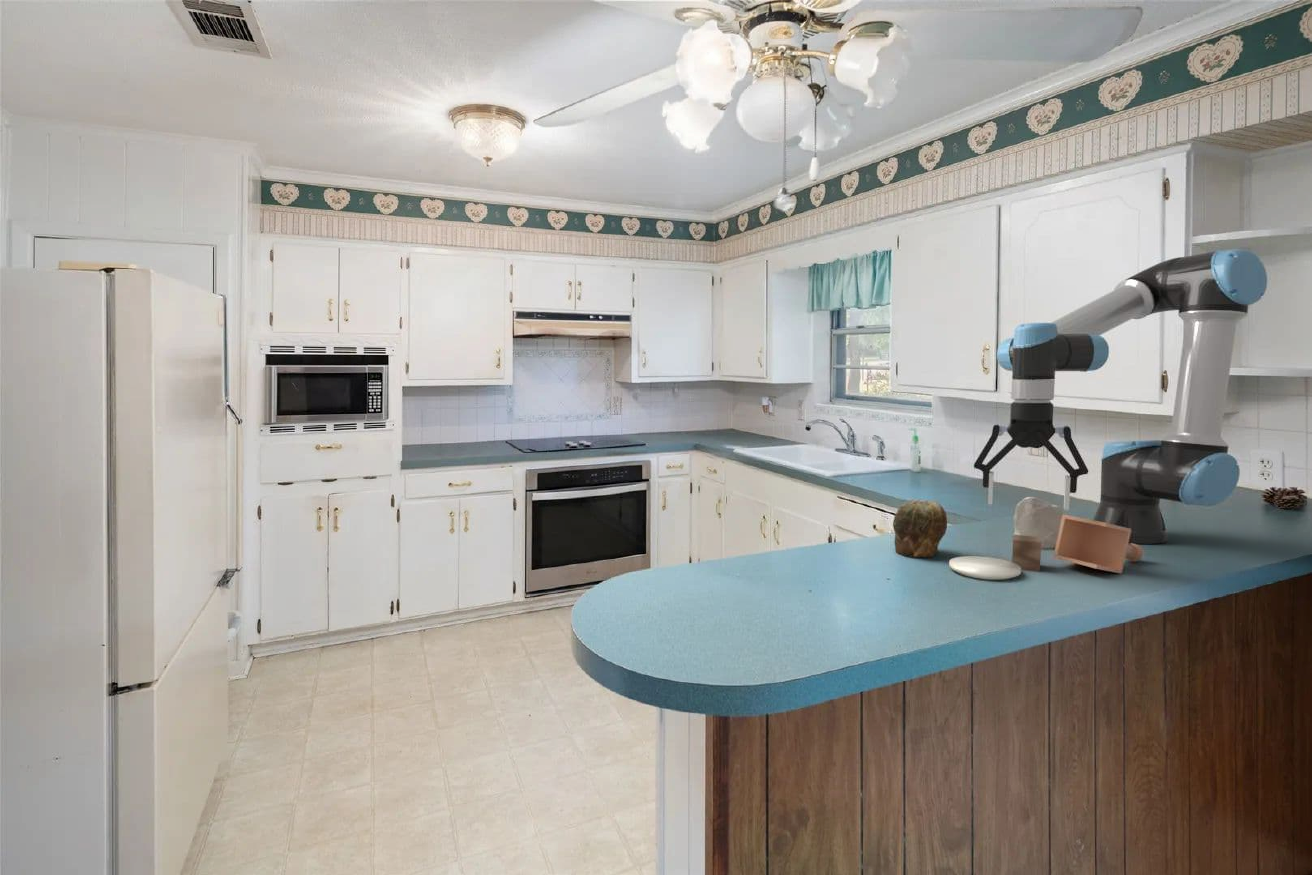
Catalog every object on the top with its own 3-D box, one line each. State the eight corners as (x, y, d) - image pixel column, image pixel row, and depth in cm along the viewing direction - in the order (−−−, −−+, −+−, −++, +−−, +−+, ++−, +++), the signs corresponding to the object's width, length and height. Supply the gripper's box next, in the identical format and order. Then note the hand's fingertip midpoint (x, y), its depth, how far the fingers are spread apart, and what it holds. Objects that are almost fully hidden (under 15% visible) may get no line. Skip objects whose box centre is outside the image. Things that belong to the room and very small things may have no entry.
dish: (998, 561, 146) (998, 555, 146) (1035, 580, 133) (1035, 573, 133) (937, 563, 146) (938, 557, 145) (968, 582, 133) (968, 575, 133)
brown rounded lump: (938, 563, 146) (939, 506, 145) (886, 555, 153) (887, 501, 151) (952, 552, 155) (953, 498, 153) (902, 545, 161) (903, 494, 160)
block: (1039, 565, 143) (1040, 536, 143) (1040, 571, 139) (1041, 542, 138) (1012, 562, 146) (1013, 534, 145) (1011, 568, 141) (1012, 539, 141)
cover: (1053, 557, 142) (1112, 569, 150) (1096, 568, 134) (1156, 580, 142) (1062, 514, 142) (1121, 528, 150) (1106, 522, 134) (1165, 537, 142)
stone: (1055, 544, 160) (1058, 494, 159) (1064, 550, 155) (1067, 498, 154) (1008, 543, 162) (1010, 493, 161) (1015, 548, 157) (1017, 497, 156)
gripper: (1103, 401, 137) (1097, 507, 139) (965, 399, 148) (961, 498, 150) (1108, 403, 130) (1102, 514, 132) (962, 401, 142) (959, 504, 144)
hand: (1027, 506), depth 141 cm, fingers open, 13 cm apart
